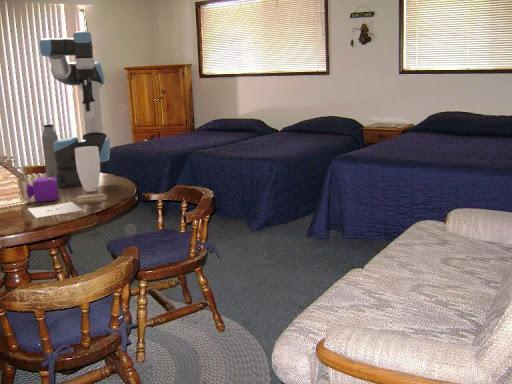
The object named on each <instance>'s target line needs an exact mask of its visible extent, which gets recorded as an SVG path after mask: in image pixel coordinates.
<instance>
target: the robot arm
mask: <svg viewBox="0 0 512 384" xmlns="http://www.w3.org/2000/svg"><path fill="white" fill-rule="evenodd" d="M72 35H73V36H72V37H70V38H69V37H67V38H65V37H63V38H57V37H56V38H53V37H52V38H49V37H48V38H41V39H39V49H40V54H41V56H42V57H47V58H48V60H49V64H50V72H51V75H52V76H53V78H54V79H56V80H57V81H58V82H60V83H62V84H64V85H68V86H78V89H79V90H80V91H81V94H82V95H81V96H82V102H81V103H82V105H83V107H82V108H83V118H84V131H85V132H84V133H83V135H82V139H79V138H78V136H71V137H65V138H61V139H58V141H56V142H54V154H55V163H56V175H55V178H57V181H58V189H70V188H71V189H72V188H78V187H83V186H82V184H81V182H80V179H79V176H78V172H77V167H76V160H75V148H78V147H86V146H96V147H98V150H99V157H100V163H102V162H107V161H109V160H110V154H111V153H110V152H111V138H109V137H108V135H107V133H105V132H104V127H103V125H104V124H103V115H102V105H101V104H102V103H101V95H100V93H101V92H100V90H101V89H102V88H103V85H104V84H105V77H104V73H103V68H102V65H101V63H100V62H99V61H95V60H94V54H93V53H94V52H93V51H94V49H93V48H94V46H93V39H92V34H91V32H89V31H74V32H73V34H72ZM66 56H67V57H69V56H70V57H71V56H73V57H74V56H75V57H74V59H75V62H74V61H72V62H71V61H70V62H68V60H67V57H66Z"/></svg>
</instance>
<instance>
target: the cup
mask: <svg viewBox="0 0 512 384" xmlns="http://www.w3.org/2000/svg"><path fill="white" fill-rule="evenodd" d="M75 160H76V167H77V172H78V176H79V179H80V182H81V184H82V186H81V187H82V188H83V190H84V191H85V192H95V191H97V189H98V185H99V181H100V174H101V162H100V157H99V150H98V147H96V146H86V147H78V148H75Z"/></svg>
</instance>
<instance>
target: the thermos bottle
mask: <svg viewBox="0 0 512 384" xmlns="http://www.w3.org/2000/svg"><path fill="white" fill-rule="evenodd" d="M58 140H59V137H58V134H57V131H56V130H55V129H54V124H43V131H42V135H41V143H42V150H43V151H42V152H43V157H44V158H43V159H44V166H45V167H44V168H45V175H46V177H45V178H49V177H55V175H56V163H55V154H54V142H56V141H58Z"/></svg>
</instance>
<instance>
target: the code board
mask: <svg viewBox="0 0 512 384" xmlns="http://www.w3.org/2000/svg"><path fill="white" fill-rule="evenodd" d="M27 210H28V212H29V213H31V215H32V216H33V217H34V218H36V219H40V218H46V217H53V216H59V215H64V214H70V213H71V214H72V213H78V212H83V211H84V210H83V209H82V208H81V207H80V206H78V205H77V204H75V203H74V202H73V201H70V202H64V203H57V204H51V205H43V206H38V207H37V206H36V207H29V208H27Z"/></svg>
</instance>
